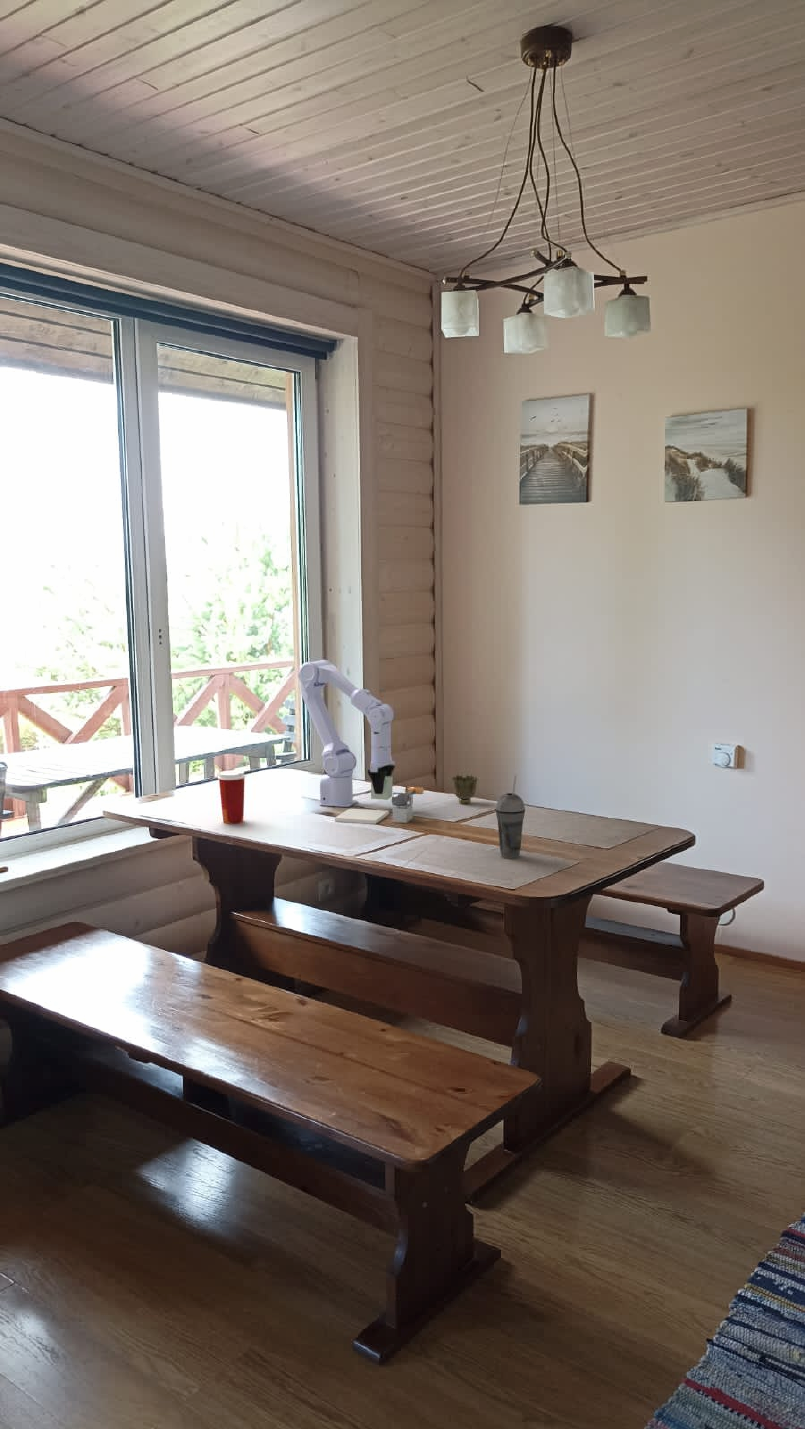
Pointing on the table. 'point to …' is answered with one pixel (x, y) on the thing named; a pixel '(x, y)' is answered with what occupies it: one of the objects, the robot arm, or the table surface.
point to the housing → (386, 790)
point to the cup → (464, 788)
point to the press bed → (362, 816)
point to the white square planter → (403, 812)
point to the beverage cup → (510, 823)
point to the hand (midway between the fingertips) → (381, 791)
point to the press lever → (405, 796)
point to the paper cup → (232, 796)
